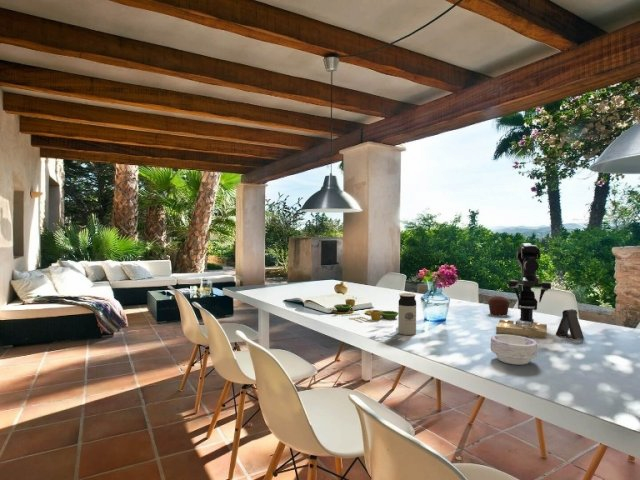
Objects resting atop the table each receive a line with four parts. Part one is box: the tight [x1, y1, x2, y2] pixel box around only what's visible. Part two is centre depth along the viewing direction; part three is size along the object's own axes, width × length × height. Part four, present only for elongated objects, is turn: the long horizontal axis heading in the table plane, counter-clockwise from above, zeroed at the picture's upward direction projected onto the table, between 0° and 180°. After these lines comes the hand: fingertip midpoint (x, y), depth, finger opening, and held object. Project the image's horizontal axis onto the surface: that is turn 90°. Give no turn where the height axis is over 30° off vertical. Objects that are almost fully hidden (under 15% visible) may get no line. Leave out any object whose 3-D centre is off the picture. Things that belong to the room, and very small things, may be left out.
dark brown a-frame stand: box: [555, 308, 585, 341], centre depth 182 cm, size 9×6×12 cm, turn 26°
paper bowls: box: [490, 334, 538, 366], centre depth 148 cm, size 15×15×8 cm
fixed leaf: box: [495, 319, 548, 339], centre depth 189 cm, size 14×20×4 cm
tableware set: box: [331, 298, 398, 323], centre depth 232 cm, size 41×28×6 cm
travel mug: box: [397, 292, 417, 336], centre depth 187 cm, size 8×8×18 cm
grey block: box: [515, 319, 532, 326], centre depth 197 cm, size 10×6×4 cm, turn 149°
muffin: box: [487, 295, 511, 317], centre depth 232 cm, size 12×11×10 cm
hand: (529, 301), depth 203 cm, fingers open, 9 cm apart
